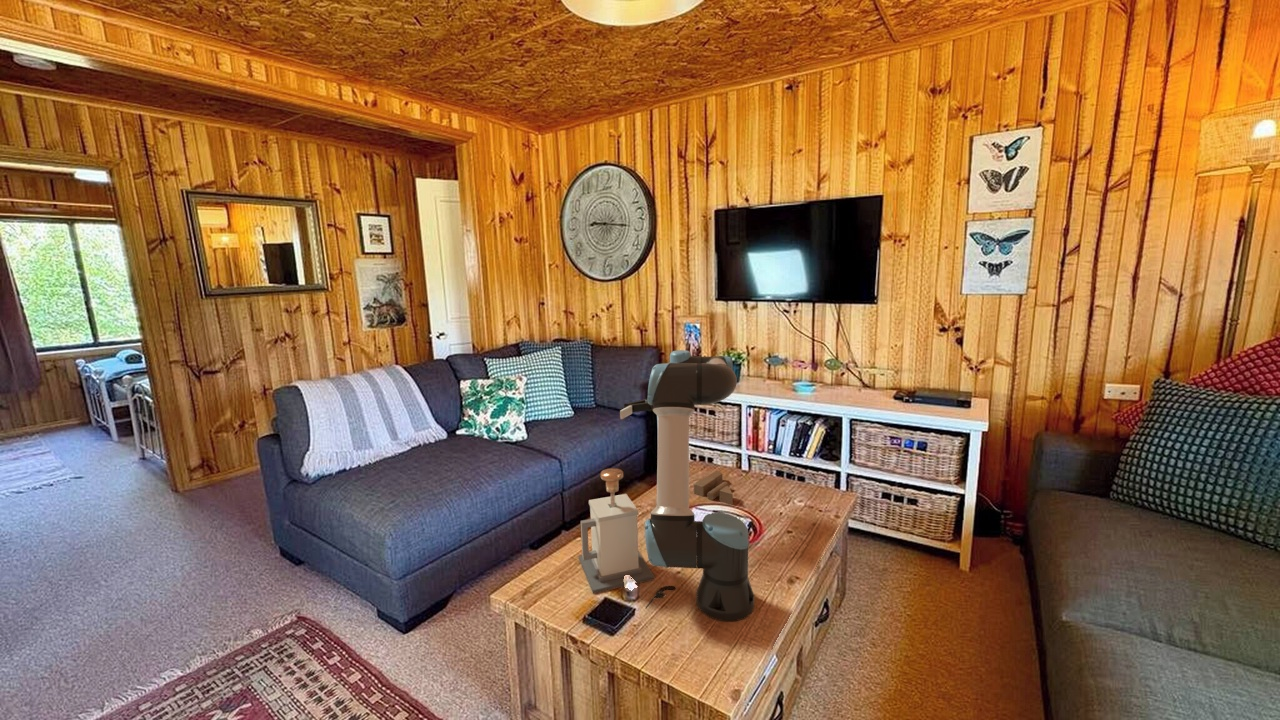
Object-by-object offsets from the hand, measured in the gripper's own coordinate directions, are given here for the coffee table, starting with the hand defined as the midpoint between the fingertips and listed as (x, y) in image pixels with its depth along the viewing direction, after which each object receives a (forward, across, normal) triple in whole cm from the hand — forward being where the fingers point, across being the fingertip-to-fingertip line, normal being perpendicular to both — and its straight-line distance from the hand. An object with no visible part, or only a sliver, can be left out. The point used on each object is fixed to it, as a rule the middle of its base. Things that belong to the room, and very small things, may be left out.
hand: (640, 417), depth 157 cm
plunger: (+16, +1, -35) cm, 38 cm away
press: (+18, +2, -41) cm, 45 cm away
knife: (+24, -17, -43) cm, 52 cm away
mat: (+16, +1, -42) cm, 45 cm away
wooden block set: (-46, -11, -43) cm, 64 cm away
